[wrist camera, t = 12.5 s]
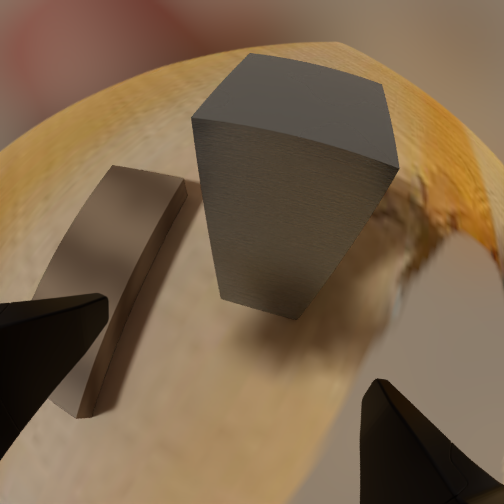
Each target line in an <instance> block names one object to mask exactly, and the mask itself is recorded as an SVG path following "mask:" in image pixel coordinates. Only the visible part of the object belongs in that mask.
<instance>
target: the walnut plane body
mask: <svg viewBox="0 0 504 504" xmlns="http://www.w3.org/2000/svg"><path fill="white" fill-rule="evenodd" d="M186 197H187V192H186V187H185V182H184V179H183V178H179V177H174V176H169V175H164V174H159V173H154V172H148V171H143V170H138V169H132V168H126V167H121V166H115V165H112V166H111V168H110V169H109V170H108V172H107V173H106V174H105V176H104V177H103V178H102V180H101V181H100V182H99V184H98V185H97V187H96V188H95V189H94V191H93V192H92V194H91V195H90V197H89V198H88V199H87V201H86V202H85V204H84V205H83V207H82V208H81V210H80V211H79V213H78V215H77V216H76V218H75V219H74V221H73V223H72V224H71V226H70V227H69V229H68V231H67V232H66V234H65V236H64V237H63V239H62V241H61V243H60V244H59V246H58V248H57V250H56V252H55V253H54V255H53V257H52V259H51V261H50V263H49V265H48V267H47V269H46V271H45V273H44V275H43V277H42V279H41V281H40V283H39V285H38V287H37V289H36V292H35V294H34V296H33V298H32V300H39V299H48V298H57V297H65V296H74V295H82V294H90V293H100V294H103V295H105V296H107V297H108V300H109V320H108V323H107V325H106V326H105V327H104V329H103V330H102V331H101V333H100V334H99V336H98V337H97V338H96V340H95V341H94V343H93V344H92V345H91V347H90V348H89V350H88V351H87V352H86V354H85V355H84V356H83V357H82V358H81V360H80V361H79V362H78V363H77V364H76V365H75V366H74V368H73V369H72V370H71V371H70V372H69V373H68V374H67V376H66V377H65V378H64V379H63V380H62V382H61V383H60V384H59V385H58V386H57V387H56V389H55V390H54V391H53V392H52V393H51V395H50V396H49V397H48V399H50V400H51V401H52V402H53V403H55V404H56V405H57V406H59V407H60V408H61V409H63V410H64V411H66V412H67V413H68V414H70V415H71V416H73V417H74V418H76V419H79V418H91V417H92V414H93V411H94V408H95V405H96V401H97V398H98V395H99V392H100V389H101V386H102V383H103V380H104V378H105V375H106V372H107V369H108V366H109V364H110V361H111V358H112V356H113V353H114V350H115V348H116V345H117V343H118V340H119V338H120V335H121V333H122V330H123V328H124V325H125V323H126V320H127V318H128V316H129V313H130V311H131V309H132V306H133V304H134V302H135V299H136V297H137V295H138V293H139V290H140V288H141V286H142V284H143V282H144V280H145V277H146V275H147V273H148V271H149V269H150V267H151V265H152V263H153V261H154V259H155V256H156V254H157V252H158V250H159V248H160V246H161V244H162V242H163V240H164V239H165V237H166V235H167V233H168V231H169V229H170V227H171V225H172V223H173V221H174V219H175V217H176V216H177V214H178V212H179V210H180V208H181V206H182V205H183V203H184V201H185V199H186Z"/></svg>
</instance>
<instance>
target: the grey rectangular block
mask: <svg viewBox="0 0 504 504" xmlns="http://www.w3.org/2000/svg"><path fill="white" fill-rule="evenodd" d="M191 120H192V128H193V135H194V143H195V150H196V157H197V164H198V171H199V177H200V184H201V190H202V197H203V203H204V209H205V215H206V221H207V227H208V233H209V238H210V244H211V249H212V255H213V260H214V266H215V271H216V276H217V281H218V287H219V292H220V297H221V299H223V300H227V301H230V302H233V303H237V304H240V305H244V306H247V307H251V308H254V309H258V310H261V311H265V312H269V313H272V314H276V315H280V316H284V317H287V318H291V319H295V320H297V319H298V318H299V317H300V316H301V314H302V313H303V312H304V310H305V309H306V308H307V306H308V305H309V304H310V303H311V301H312V300H313V299H314V297H315V296H316V295H317V293H318V292H319V291H320V289H321V288H322V286H323V285H324V284H325V282H326V281H327V280H328V278H329V277H330V275H331V274H332V273H333V271H334V270H335V268H336V267H337V266H338V264H339V263H340V261H341V260H342V258H343V257H344V256H345V254H346V253H347V251H348V250H349V248H350V247H351V245H352V244H353V242H354V241H355V239H356V238H357V236H358V235H359V233H360V232H361V230H362V229H363V227H364V226H365V224H366V223H367V221H368V219H369V218H370V216H371V215H372V213H373V212H374V210H375V208H376V207H377V205H378V204H379V202H380V200H381V199H382V197H383V196H384V194H385V192H386V191H387V189H388V187H389V186H390V184H391V182H392V180H393V179H394V177H395V175H396V174H397V172H398V170H399V162H398V156H397V150H396V144H395V138H394V133H393V128H392V124H391V119H390V114H389V110H388V106H387V102H386V98H385V94H384V90H383V87H382V84H379V83H377V82H374V81H371V80H368V79H365V78H362V77H359V76H356V75H353V74H349V73H346V72H342V71H339V70H335V69H332V68H328V67H324V66H320V65H316V64H311V63H307V62H302V61H297V60H292V59H287V58H281V57H275V56H268V55H261V54H253V53H250V54H249V55H248V56H247V57H246V58H245V59H244V60H243V61H242V62H241V63H240V64H239V65H238V66H237V67H236V68H235V69H234V70H233V71H232V72H231V73H230V74H229V75H228V76H227V77H226V78H225V79H224V80H223V81H222V82H221V84H220V85H219V86H218V87H217V88H216V89H215V90H214V91H213V92H212V94H211V95H210V96H209V97H208V98H207V99H206V100H205V102H204V103H203V104H202V105H201V106H200V107H199V109H198V110H197V111H196V112H195V113H194V115H193V116H192V117H191Z"/></svg>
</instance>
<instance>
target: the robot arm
mask: <svg viewBox="0 0 504 504" xmlns="http://www.w3.org/2000/svg"><path fill="white" fill-rule="evenodd" d="M108 320H109V300H108V297H107V296H105V295H103V294H100V293H90V294H82V295H74V296H65V297H57V298H48V299H39V300H30V301H21V302H11V303H1V304H0V460H1V459H2V458H3V456H4V455H5V453H6V452H7V450H8V449H9V448H10V446H11V445H12V444H13V442H14V441H15V440H16V438H17V437H18V436H19V434H20V432H21V431H22V430H23V429H24V427H25V426H26V425H27V423H28V422H29V421H30V420H31V418H32V417H33V416H34V415H35V413H36V412H37V411H38V409H39V408H40V407H41V406H42V404H43V403H44V402H45V401H46V400H47V398H48V397H49V396H50V395H51V393H52V392H53V391H54V390H55V389H56V387H57V386H58V385H59V384H60V383H61V382H62V380H63V379H64V378H65V377H66V376H67V374H68V373H69V372H70V371H71V370H72V369H73V368H74V366H75V365H76V364H77V363H78V362H79V361H80V360H81V358H82V357H83V356H84V355H85V354H86V352H87V351H88V350H89V348H90V347H91V345H92V344H93V343H94V341H95V340H96V338H97V337H98V336H99V334H100V333H101V331H102V330H103V329H104V327H105V326H106V325H107V323H108ZM360 427H361V428H360V504H504V485H503V484H501V483H499V482H498V481H497V480H495V479H494V478H493V477H491V476H490V475H489V474H488V473H487V472H485V471H484V470H483V469H482V468H480V467H479V466H478V465H476V464H475V463H474V462H473V461H471V459H469V458H468V457H467V456H466V455H465V454H464V453H463V452H462V451H461V450H459V449H458V448H457V447H456V446H455V445H454V444H453V443H451V441H450V440H449V439H448V438H447V437H446V436H445V435H444V434H443V433H442V432H441V431H440V430H439V429H438V428H437V427H436V426H435V425H434V424H432V423H431V422H430V421H429V420H428V419H427V418H426V417H425V416H424V415H423V414H422V413H421V412H420V411H419V410H418V409H417V408H416V407H415V406H414V405H413V404H412V403H411V402H410V401H409V400H408V399H407V398H405V397H404V396H403V395H402V394H401V393H400V392H399V391H398V390H397V389H396V388H395V387H394V386H393V385H392V384H391V383H390V382H389V381H388V380H385V379H378V378H377V379H375V380H374V381H373V382H372V384H371V386H370V387H369V389H368V390H367V392H366V393H365V395H364V397H363V399H362V408H361V426H360Z"/></svg>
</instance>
